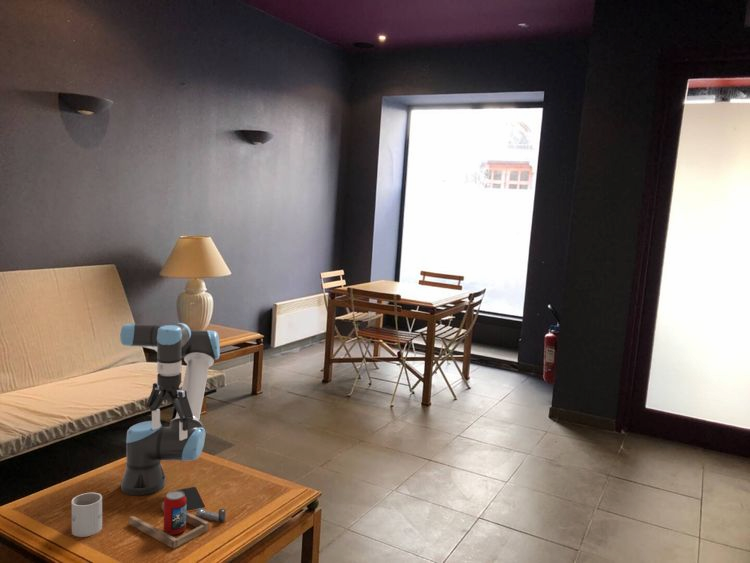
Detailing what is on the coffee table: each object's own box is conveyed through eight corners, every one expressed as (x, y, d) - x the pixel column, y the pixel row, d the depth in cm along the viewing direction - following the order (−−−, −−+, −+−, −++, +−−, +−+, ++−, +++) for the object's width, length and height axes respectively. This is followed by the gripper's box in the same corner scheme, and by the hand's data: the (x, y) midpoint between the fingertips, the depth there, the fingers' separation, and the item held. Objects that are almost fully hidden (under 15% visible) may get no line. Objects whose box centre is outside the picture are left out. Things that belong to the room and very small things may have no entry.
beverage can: (179, 537, 182) (179, 501, 181) (159, 534, 184) (159, 498, 182) (190, 526, 189) (190, 491, 187) (171, 523, 190) (171, 488, 189)
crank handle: (194, 516, 195) (194, 506, 195) (199, 512, 198) (199, 502, 197) (222, 523, 192) (222, 512, 191) (227, 519, 194) (227, 509, 194)
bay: (129, 524, 188) (129, 517, 188) (164, 508, 199) (164, 501, 199) (173, 548, 176) (174, 540, 176) (208, 529, 187) (208, 522, 187)
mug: (97, 536, 181) (97, 505, 180) (67, 537, 179) (67, 506, 178) (108, 515, 193) (108, 486, 192) (80, 516, 191) (80, 487, 190)
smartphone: (184, 513, 197) (184, 511, 197) (175, 492, 211) (175, 489, 211) (207, 509, 201) (207, 507, 201) (196, 488, 215) (196, 486, 215)
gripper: (135, 367, 196) (135, 427, 199) (186, 384, 183) (186, 447, 186) (154, 362, 202) (154, 420, 205) (204, 378, 189) (204, 439, 193)
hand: (169, 433), depth 196 cm, fingers open, 13 cm apart
